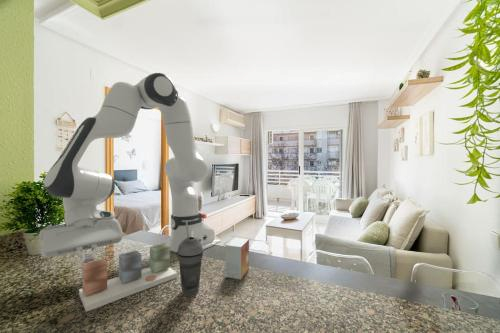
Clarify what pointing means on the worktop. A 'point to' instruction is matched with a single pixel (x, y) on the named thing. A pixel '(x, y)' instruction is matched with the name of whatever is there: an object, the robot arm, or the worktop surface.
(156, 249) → the sage green block
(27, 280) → the worktop surface
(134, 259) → the grey tall block
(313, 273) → the worktop surface
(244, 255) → the small box
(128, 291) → the base
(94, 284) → the pink tall block
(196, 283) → the beverage cup
